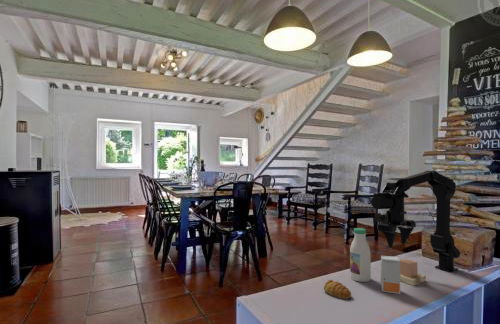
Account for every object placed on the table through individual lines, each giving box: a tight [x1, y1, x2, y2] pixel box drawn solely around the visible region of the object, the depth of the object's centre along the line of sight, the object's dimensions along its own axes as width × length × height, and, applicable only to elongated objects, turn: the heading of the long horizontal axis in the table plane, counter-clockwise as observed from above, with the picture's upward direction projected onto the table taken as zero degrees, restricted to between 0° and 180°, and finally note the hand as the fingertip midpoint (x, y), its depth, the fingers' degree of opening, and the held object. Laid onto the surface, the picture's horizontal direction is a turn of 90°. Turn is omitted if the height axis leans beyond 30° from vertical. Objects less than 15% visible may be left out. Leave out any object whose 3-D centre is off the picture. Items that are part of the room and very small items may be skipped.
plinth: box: [400, 272, 427, 286], centre depth 111 cm, size 9×9×2 cm
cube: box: [400, 257, 419, 277], centre depth 112 cm, size 5×5×5 cm
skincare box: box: [380, 255, 401, 295], centre depth 101 cm, size 6×4×12 cm
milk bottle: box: [349, 227, 372, 283], centre depth 112 cm, size 8×8×20 cm
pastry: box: [323, 279, 352, 300], centre depth 99 cm, size 9×7×4 cm
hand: (397, 245), depth 116 cm, fingers open, 9 cm apart
